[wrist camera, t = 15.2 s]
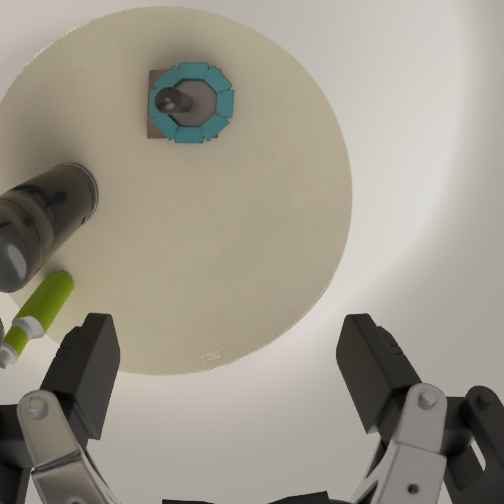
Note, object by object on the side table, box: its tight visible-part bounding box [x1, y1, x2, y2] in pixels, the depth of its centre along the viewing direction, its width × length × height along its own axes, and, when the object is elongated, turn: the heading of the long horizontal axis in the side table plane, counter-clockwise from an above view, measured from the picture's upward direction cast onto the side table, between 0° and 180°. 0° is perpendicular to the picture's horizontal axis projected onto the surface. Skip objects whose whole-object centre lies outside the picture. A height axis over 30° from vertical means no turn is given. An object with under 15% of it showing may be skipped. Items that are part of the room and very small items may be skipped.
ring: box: [149, 63, 234, 143], centre depth 35 cm, size 10×10×2 cm
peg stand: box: [148, 69, 221, 138], centre depth 30 cm, size 9×9×15 cm
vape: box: [0, 271, 74, 369], centre depth 37 cm, size 4×6×20 cm, turn 102°
